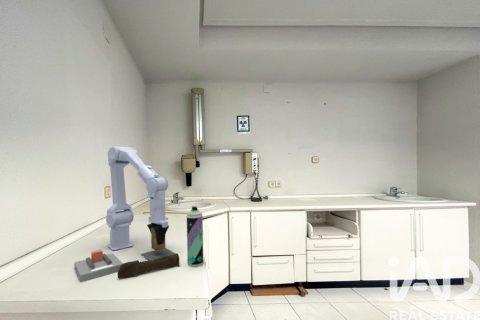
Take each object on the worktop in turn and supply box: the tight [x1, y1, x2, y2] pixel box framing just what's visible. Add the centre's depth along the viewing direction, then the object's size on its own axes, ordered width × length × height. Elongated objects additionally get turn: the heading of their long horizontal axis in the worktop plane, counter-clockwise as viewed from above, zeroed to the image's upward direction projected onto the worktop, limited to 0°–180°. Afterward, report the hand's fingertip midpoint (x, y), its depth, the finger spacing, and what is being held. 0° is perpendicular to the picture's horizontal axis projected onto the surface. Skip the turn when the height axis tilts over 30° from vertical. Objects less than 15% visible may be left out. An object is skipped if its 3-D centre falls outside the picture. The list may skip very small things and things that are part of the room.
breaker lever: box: [90, 249, 104, 263], centre depth 81 cm, size 2×3×3 cm
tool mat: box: [140, 247, 176, 261], centre depth 91 cm, size 10×10×1 cm
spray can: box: [186, 205, 204, 268], centre depth 82 cm, size 6×6×20 cm
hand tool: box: [117, 252, 180, 279], centre depth 77 cm, size 19×4×5 cm, turn 119°
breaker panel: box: [73, 252, 124, 283], centre depth 79 cm, size 14×12×3 cm
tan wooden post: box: [150, 227, 167, 251], centre depth 91 cm, size 4×4×8 cm
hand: (158, 242), depth 91 cm, fingers closed on tan wooden post, 4 cm apart
